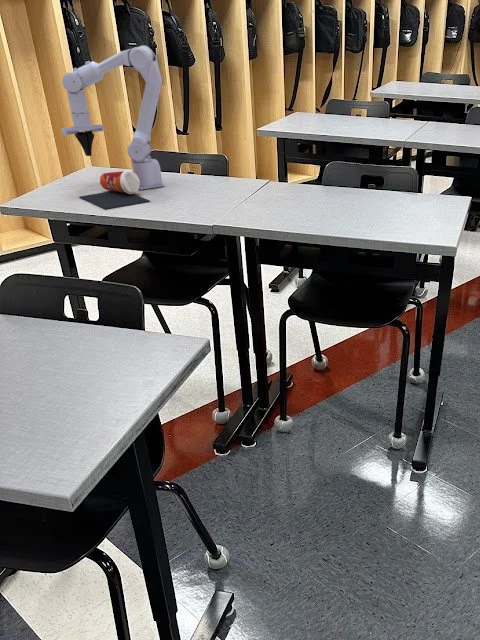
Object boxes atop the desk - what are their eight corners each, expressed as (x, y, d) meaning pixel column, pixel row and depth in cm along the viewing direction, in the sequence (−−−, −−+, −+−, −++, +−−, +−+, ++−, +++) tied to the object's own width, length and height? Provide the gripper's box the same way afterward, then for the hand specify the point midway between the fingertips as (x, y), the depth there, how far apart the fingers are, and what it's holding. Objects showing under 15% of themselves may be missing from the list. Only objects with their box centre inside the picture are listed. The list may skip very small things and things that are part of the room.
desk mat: (122, 190, 234) (122, 189, 234) (149, 201, 222) (149, 200, 222) (79, 197, 226) (79, 196, 225) (105, 209, 214) (105, 208, 213)
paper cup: (93, 178, 228) (118, 179, 220) (106, 165, 231) (132, 165, 223) (106, 198, 234) (131, 199, 226) (119, 185, 237) (145, 185, 229)
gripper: (94, 109, 231) (102, 151, 239) (54, 113, 223) (64, 156, 231) (103, 111, 227) (111, 154, 235) (62, 115, 219) (72, 159, 227)
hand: (88, 155), depth 233 cm, fingers closed
